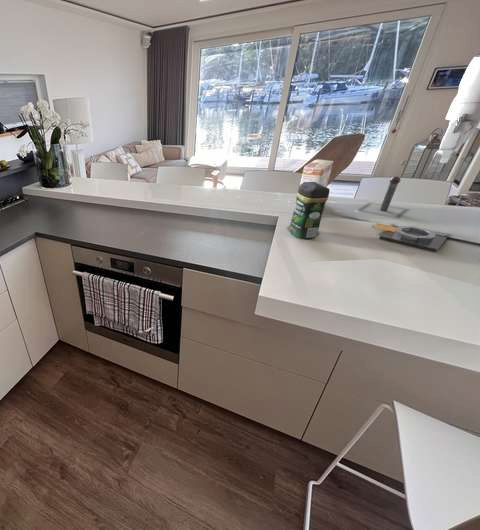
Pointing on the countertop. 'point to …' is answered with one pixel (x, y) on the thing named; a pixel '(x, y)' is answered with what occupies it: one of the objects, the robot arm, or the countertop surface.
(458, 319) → the countertop surface
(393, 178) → the post
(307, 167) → the coffeecake box
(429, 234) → the steel loop
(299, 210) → the coffee jar
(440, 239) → the hob plate
